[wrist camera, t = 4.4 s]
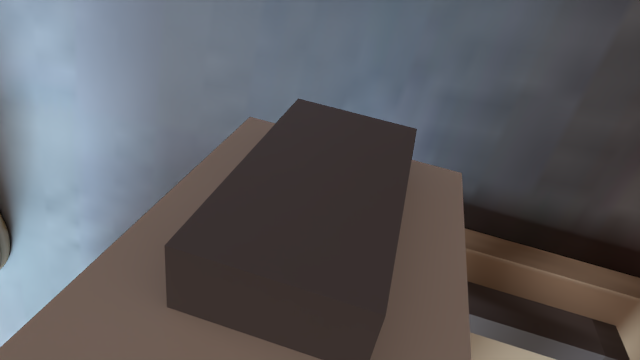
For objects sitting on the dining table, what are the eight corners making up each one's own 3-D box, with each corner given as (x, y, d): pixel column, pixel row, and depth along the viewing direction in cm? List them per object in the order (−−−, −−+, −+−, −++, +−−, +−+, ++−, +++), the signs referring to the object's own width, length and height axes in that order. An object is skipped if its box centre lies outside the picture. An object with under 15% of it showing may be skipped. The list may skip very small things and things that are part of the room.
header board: (256, 352, 29) (234, 400, 26) (279, 175, 21) (252, 214, 18) (566, 459, 26) (581, 526, 23) (716, 299, 19) (766, 368, 16)
